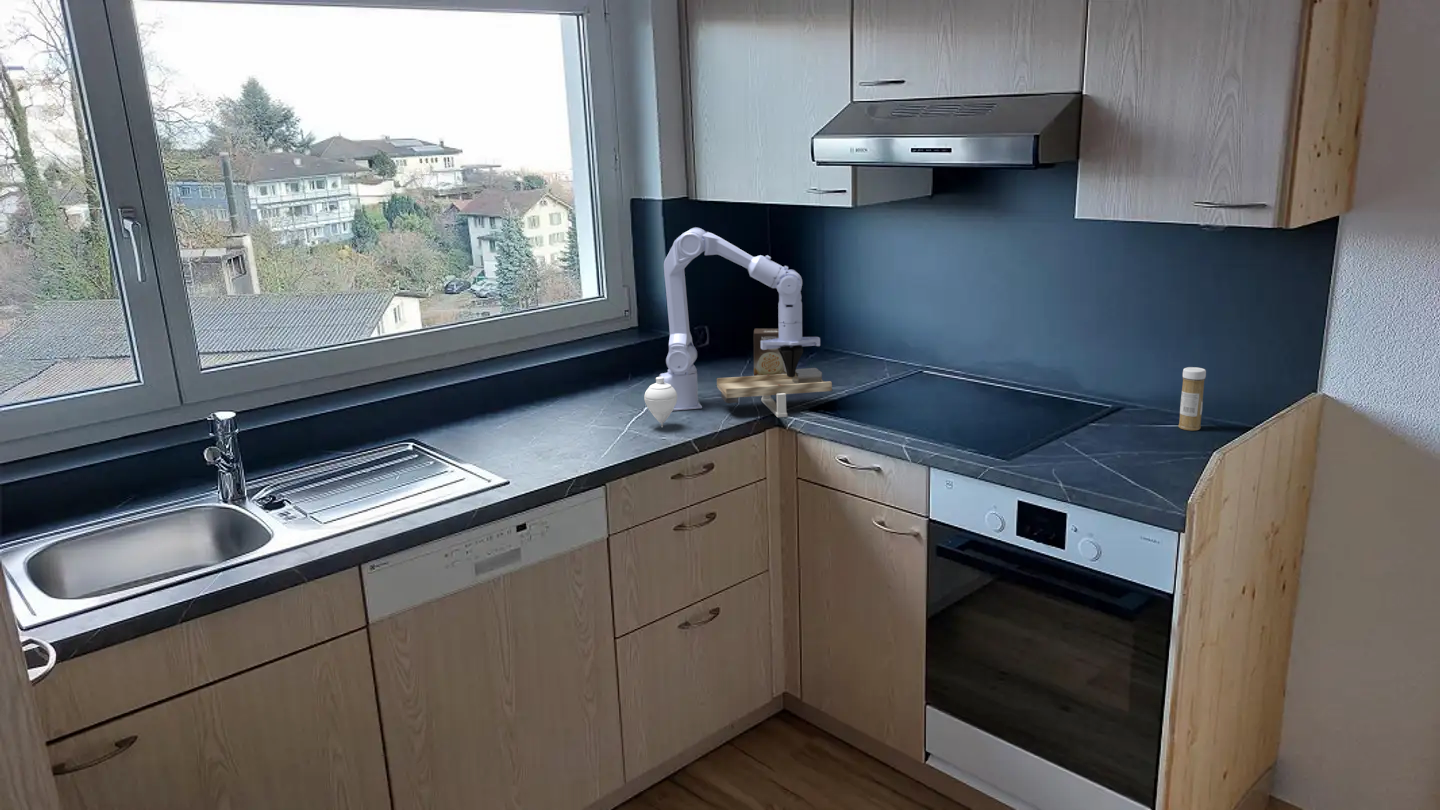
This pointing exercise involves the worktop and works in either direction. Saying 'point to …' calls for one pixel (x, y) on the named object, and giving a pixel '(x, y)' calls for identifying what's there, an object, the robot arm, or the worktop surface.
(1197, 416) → the sprinkles bottle
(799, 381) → the block
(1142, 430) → the worktop surface
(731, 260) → the robot arm
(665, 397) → the spinning top
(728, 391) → the balance beam
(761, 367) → the coffee box
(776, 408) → the pivot stand
